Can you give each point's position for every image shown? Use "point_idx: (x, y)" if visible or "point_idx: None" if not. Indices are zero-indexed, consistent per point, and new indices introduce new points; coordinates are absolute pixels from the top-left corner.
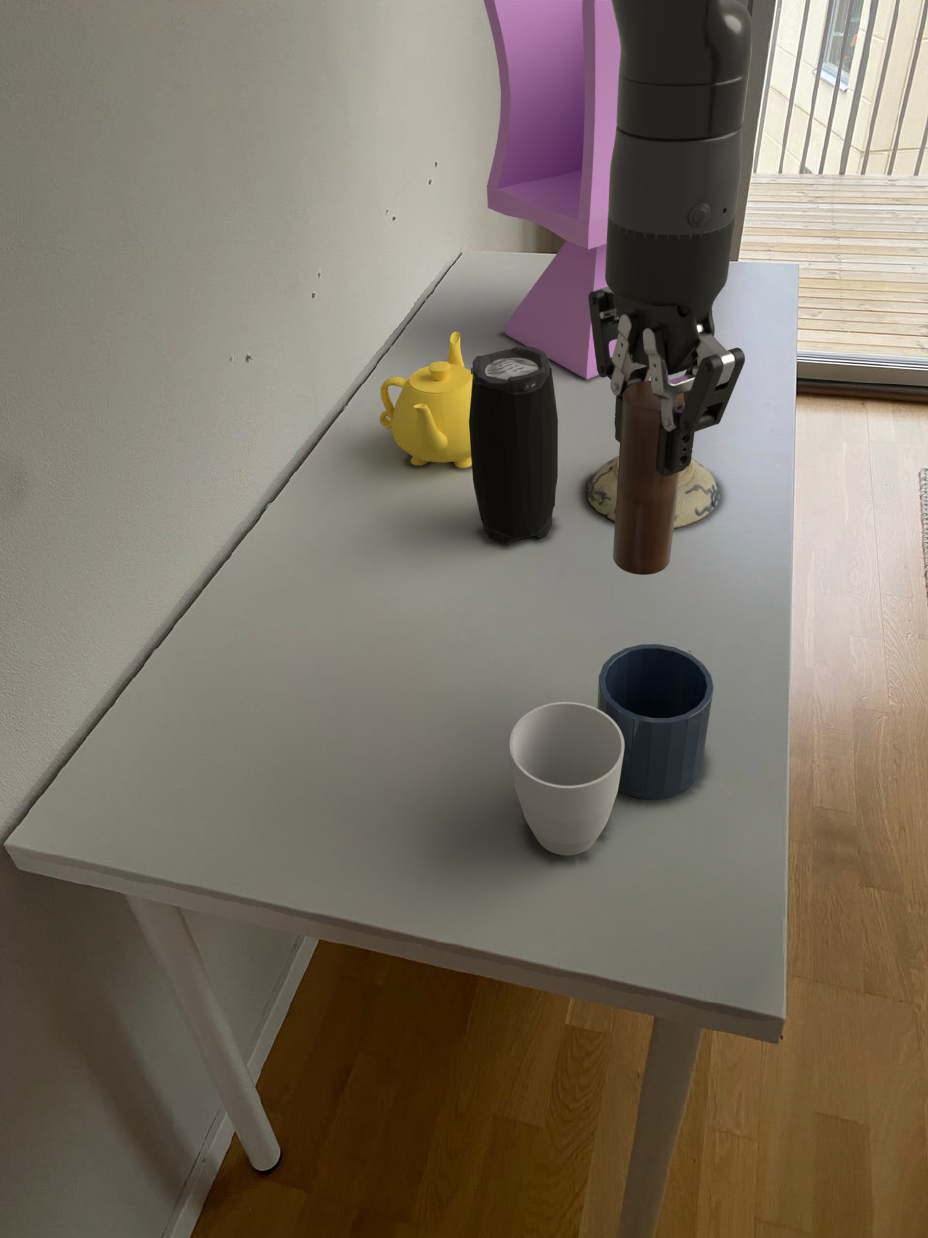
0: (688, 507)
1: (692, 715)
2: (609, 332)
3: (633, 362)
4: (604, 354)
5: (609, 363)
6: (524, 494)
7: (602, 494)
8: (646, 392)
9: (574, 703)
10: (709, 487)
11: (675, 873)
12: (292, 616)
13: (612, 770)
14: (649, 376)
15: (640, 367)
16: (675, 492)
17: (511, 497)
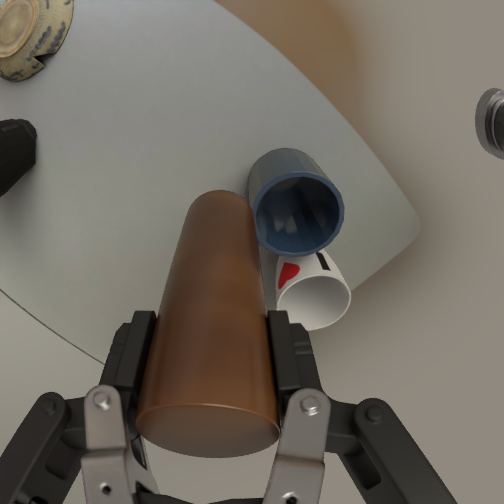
0: (60, 9)
1: (343, 216)
2: (55, 491)
3: (149, 490)
4: (79, 467)
5: (84, 450)
6: (11, 166)
7: (15, 73)
8: (188, 440)
9: (289, 286)
10: None
11: (358, 221)
12: (72, 303)
13: (349, 293)
14: (124, 419)
15: (141, 467)
16: (257, 268)
17: (11, 177)
